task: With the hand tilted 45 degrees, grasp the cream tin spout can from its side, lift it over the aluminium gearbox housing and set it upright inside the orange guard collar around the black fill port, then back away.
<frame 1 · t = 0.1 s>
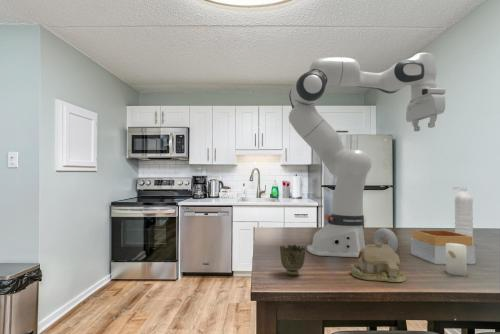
hand: (423, 129, 125), 48 cm above the table, tool pointing down, fingers open, 8 cm apart
ceramic model: (377, 277, 91), on the table
gearbox: (441, 258, 113), on the table
water bottle: (462, 245, 137), on the table
cup: (292, 275, 92), on the table
donut: (385, 255, 117), on the table
spout can: (456, 273, 95), on the table
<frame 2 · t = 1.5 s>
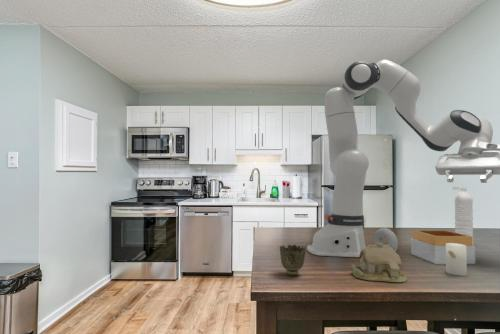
hand: (465, 181, 105), 28 cm above the table, tool tilted 45°, fingers open, 8 cm apart
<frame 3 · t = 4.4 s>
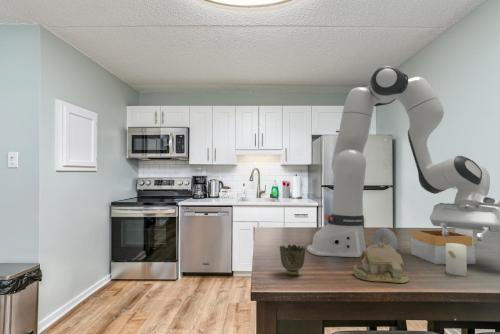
hand: (461, 237, 100), 10 cm above the table, tool tilted 45°, fingers open, 8 cm apart
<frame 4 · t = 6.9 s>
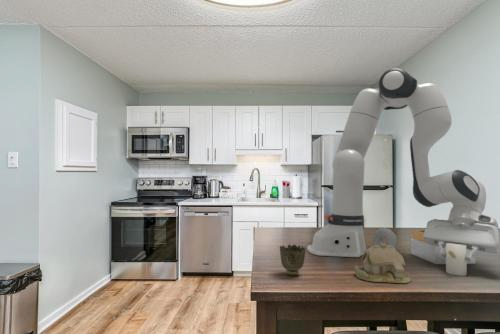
hand: (455, 257, 95), 5 cm above the table, tool tilted 45°, fingers closed on spout can, 5 cm apart
spout can: (456, 273, 95), on the table, touching gripper
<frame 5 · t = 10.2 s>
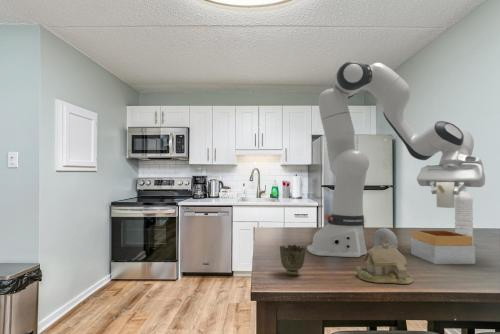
hand: (444, 193, 107), 23 cm above the table, tool tilted 45°, fingers closed on spout can, 5 cm apart
spout can: (445, 207, 108), point 19 cm above the table, touching gripper
when the fingers open (13 cm above the table, at t = 13.5 s): spout can drops 2 cm, resting on gearbox.
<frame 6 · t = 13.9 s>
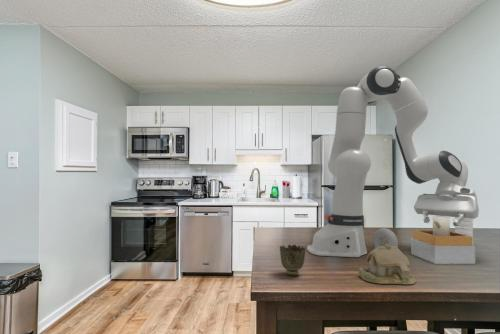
hand: (440, 223, 113), 13 cm above the table, tool tilted 45°, fingers open, 8 cm apart
spout can: (441, 241, 113), point 6 cm above the table, touching gearbox
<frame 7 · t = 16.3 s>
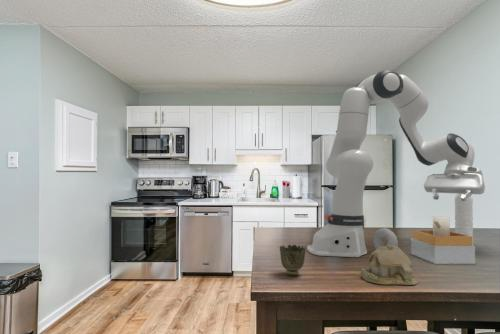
hand: (449, 199, 122), 21 cm above the table, tool tilted 45°, fingers open, 8 cm apart
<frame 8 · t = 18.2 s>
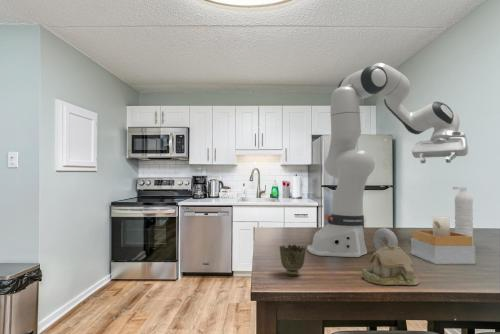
hand: (434, 161, 129), 35 cm above the table, tool tilted 45°, fingers open, 8 cm apart
at the end: spout can 0.0 cm off-centre on the gearbox, point 6.2 cm above the gearbox's base; spout can tilted 0°; the gripper is holding nothing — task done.
